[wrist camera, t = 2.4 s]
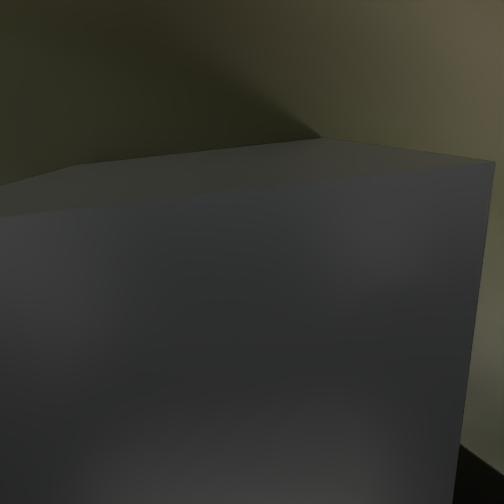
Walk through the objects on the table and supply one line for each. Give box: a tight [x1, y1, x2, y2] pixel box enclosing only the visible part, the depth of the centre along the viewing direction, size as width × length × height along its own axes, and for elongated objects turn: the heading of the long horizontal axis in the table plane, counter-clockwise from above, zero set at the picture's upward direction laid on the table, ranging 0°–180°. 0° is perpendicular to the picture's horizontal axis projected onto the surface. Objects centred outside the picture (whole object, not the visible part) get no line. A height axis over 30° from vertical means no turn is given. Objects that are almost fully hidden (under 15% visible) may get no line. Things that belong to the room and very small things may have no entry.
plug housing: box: [0, 138, 495, 504], centre depth 7 cm, size 5×11×5 cm, turn 6°
